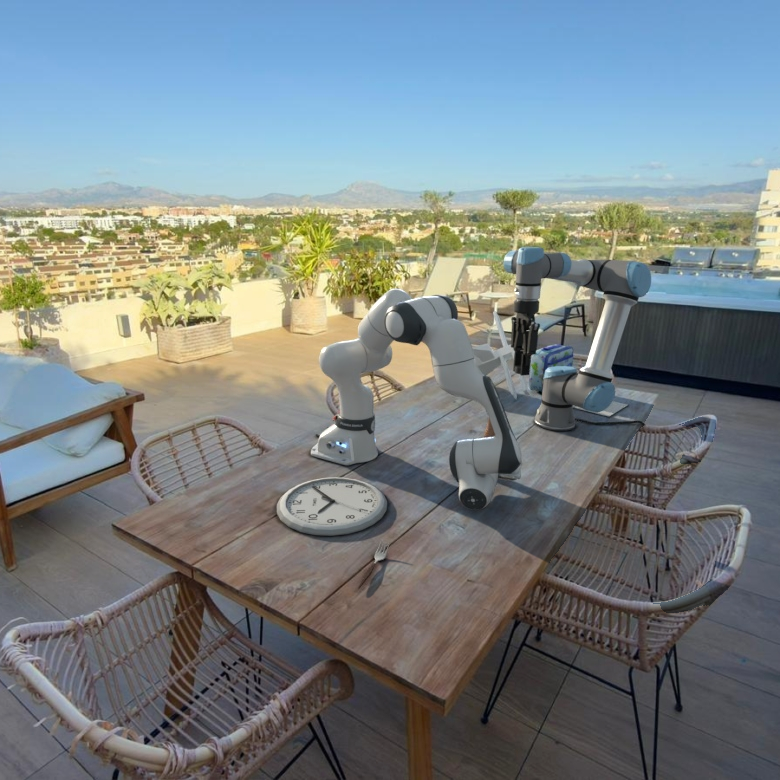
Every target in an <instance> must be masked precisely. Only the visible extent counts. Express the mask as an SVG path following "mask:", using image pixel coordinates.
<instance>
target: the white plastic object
mask: <svg viewBox="0 0 780 780" xmlns="http://www.w3.org/2000/svg"><path fill="white" fill-rule="evenodd" d="M492 315H493V319H494V321H495V324H496V325H495V326H496V328H497V332H498V335H499V338H500V342H501V345H502V347H500V348H498V349H496V350H495V349H493V348H492V347H491V346H490V344H489V343H488V342H487V343H483V344H479V345H473V346H472V349H473V354H474V358H475V362H476V365H477V367H478V368H479V370H480V371H481V373H482V374H483V375H485V376H488V375H489V374H490V373H492V372H494V371H495V370H496V369H497V368H499V367H500V366H502V370H503V373H504V376H505V380H506V383H507V386H508V390H509V393H510V394H511V395H512V397H513V398H514V399H515V400H517V392H516V391H517V390H516V388H515V385H514V381H513V378H512V375H511V371H510V369H509V365H508V361H510V360H513V361H514V353H515V351H514V349H513V348H512V347H511V343H510V344H508V341H507V337H506V334H505V331H504V328H503V325H502V321H501V318H500V315H499V314H498V312H497V311H496V310H495V311H492ZM517 376H518V380H519V382H520V385H521V389H522V391H523V393H524V395H525V396H526V397H528V396H531V395H530V389H529V388H528V387H529V386H528V384H527V381H526V378H525V375H523V376H521V375H520V374H517Z"/></svg>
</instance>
